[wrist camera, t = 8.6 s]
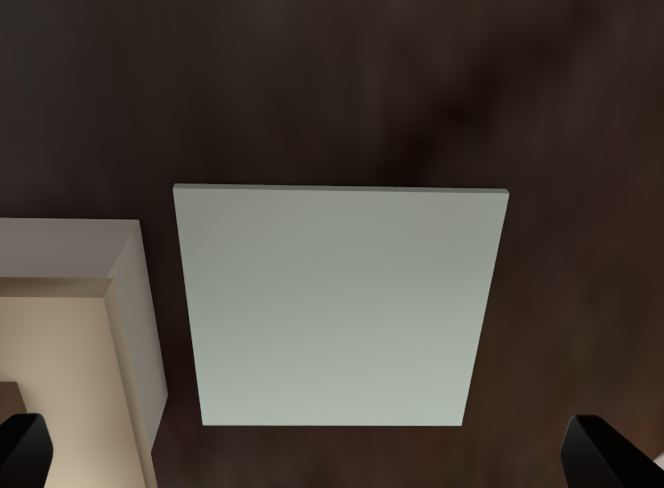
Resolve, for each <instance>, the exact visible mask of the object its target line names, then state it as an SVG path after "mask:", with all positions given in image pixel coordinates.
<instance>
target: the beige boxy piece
mask: <svg viewBox="0 0 664 488" xmlns="http://www.w3.org/2000/svg"><path fill="white" fill-rule="evenodd" d="M0 277H63V278H114V280H115V285H116V290H117V295H118V300H119V304H120V309H121V314H122V319H123V324H124V329H125V333H126V338H127V343H128V348H129V353H130V357H131V362H132V367H133V372H134V377H135V382H136V386H137V391H138V396H139V401H140V406H141V410H142V415H143V420H144V425H145V430H146V435H147V439H148V444H149V449H150V453H151V449H152V446H153V443H154V440H155V436H156V433H157V430H158V427H159V423H160V420H161V417H162V413H163V410H164V407H165V404H166V400H167V397H168V391H167V385H166V379H165V373H164V367H163V361H162V355H161V349H160V343H159V337H158V331H157V325H156V319H155V313H154V307H153V301H152V295H151V289H150V283H149V277H148V271H147V265H146V259H145V253H144V247H143V241H142V235H141V229H140V223H139V220H118V219H47V218H0Z"/></svg>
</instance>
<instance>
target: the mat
mask: <svg viewBox="0 0 664 488" xmlns="http://www.w3.org/2000/svg"><path fill="white" fill-rule="evenodd" d="M173 194H174V202H175V210H176V218H177V226H178V234H179V241H180V249H181V257H182V265H183V273H184V281H185V288H186V296H187V304H188V312H189V320H190V328H191V335H192V343H193V351H194V359H195V367H196V375H197V382H198V390H199V398H200V406H201V414H202V422H203V425H390V426H461V424H462V420H463V415H464V410H465V405H466V400H467V395H468V391H469V386H470V381H471V376H472V371H473V366H474V362H475V357H476V352H477V347H478V342H479V338H480V333H481V328H482V323H483V318H484V313H485V309H486V304H487V299H488V294H489V289H490V284H491V280H492V275H493V270H494V265H495V260H496V256H497V251H498V246H499V241H500V236H501V231H502V227H503V222H504V217H505V212H506V207H507V202H508V198H509V192H508V191H507V189H485V188H423V187H360V186H298V185H235V184H175V185H174V187H173Z"/></svg>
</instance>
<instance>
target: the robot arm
mask: <svg viewBox="0 0 664 488" xmlns="http://www.w3.org/2000/svg"><path fill="white" fill-rule="evenodd" d="M53 451H54V450H53V443H52V440H51V437H50V434H49V431H48V428H47V425H46V422H45V419H44V417H43V416H42V415H41V414H40V413H16V414H14V415H12V416H10V417H9V418H8V419H6V420H5V421H4V422H2V423H1V424H0V488H44V486H45V483H46V480H47V476H48V473H49V469H50V466H51V463H52V459H53ZM561 461H562V465H563V469H564V472H565V476H566V480H567V484H568V488H664V470H663V469H662V468H660V467H659V466H658V465H657V464H656V463H654V462H653V461H652V460H651V459H650V458H648V457H647V456H646V455H645V454H644V453H643V452H641V451H640V450H639V449H638V448H637V447H635V446H634V445H633V444H632V443H631V442H629V441H628V440H627V439H626V438H625V437H623V436H622V435H621V434H620V433H619V432H617V431H616V430H615V429H614V428H613V427H612V426H610V425H609V424H608V423H607V422H606V421H604V420H603V419H602V418H600V417H599V416H596V415H574V416H573V417H572V418H571V419H570V422H569V425H568V427H567V430H566V433H565V436H564V439H563V442H562V445H561Z"/></svg>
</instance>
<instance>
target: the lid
mask: <svg viewBox="0 0 664 488" xmlns="http://www.w3.org/2000/svg"><path fill="white" fill-rule="evenodd" d="M16 413H40V414H41V415H42V416H43V417H44V419H45V422H46V425H47V428H48V431H49V434H50V437H51V440H52V443H53V450H54V451H53V459H52V463H51V466H50V469H49V473H48V476H47V480H46V483H45V486H44V488H157V483H156V478H155V473H154V468H153V463H152V459H151V454H150V449H149V444H148V439H147V435H146V430H145V425H144V420H143V415H142V410H141V406H140V401H139V396H138V391H137V386H136V382H135V377H134V372H133V367H132V362H131V357H130V353H129V348H128V343H127V338H126V333H125V329H124V324H123V319H122V314H121V309H120V304H119V300H118V295H117V290H116V285H115V280H114V278H63V277H0V424H1V423H2V422H4V421H5V420H6V419H8V418H9V417H10V416H12V415H14V414H16Z"/></svg>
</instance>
